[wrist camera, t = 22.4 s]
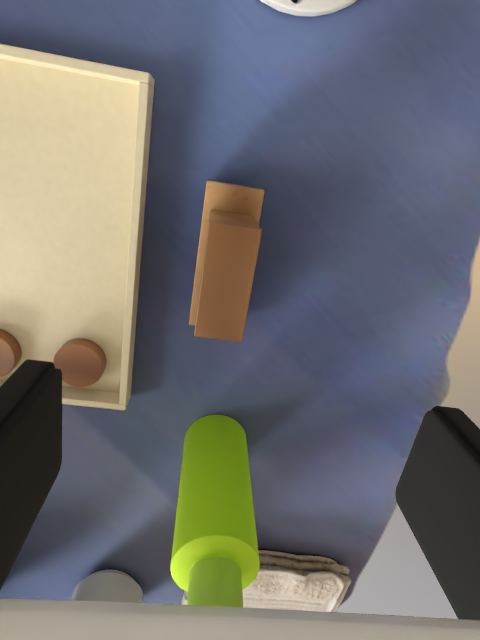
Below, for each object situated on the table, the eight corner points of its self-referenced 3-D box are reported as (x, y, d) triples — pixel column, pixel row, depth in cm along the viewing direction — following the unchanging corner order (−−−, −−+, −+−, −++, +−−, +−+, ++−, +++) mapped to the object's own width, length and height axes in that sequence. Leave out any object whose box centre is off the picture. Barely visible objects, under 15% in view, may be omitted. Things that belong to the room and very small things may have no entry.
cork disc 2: (57, 335, 33) (52, 341, 32) (107, 340, 34) (103, 346, 33) (58, 377, 35) (53, 385, 34) (106, 382, 35) (102, 389, 34)
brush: (190, 311, 34) (182, 361, 25) (207, 178, 30) (204, 186, 22) (238, 317, 34) (245, 368, 26) (260, 187, 30) (277, 198, 22)
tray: (-87, 32, 26) (-114, 21, 24) (154, 79, 27) (149, 72, 25) (-49, 376, 35) (-66, 390, 33) (130, 395, 36) (125, 410, 34)
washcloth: (321, 623, 50) (327, 652, 47) (176, 611, 48) (173, 641, 45) (350, 555, 46) (359, 582, 43) (193, 539, 43) (191, 566, 40)
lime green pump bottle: (191, 476, 40) (170, 748, 22) (180, 418, 38) (145, 671, 19) (250, 468, 40) (279, 733, 22) (242, 410, 38) (268, 655, 19)
